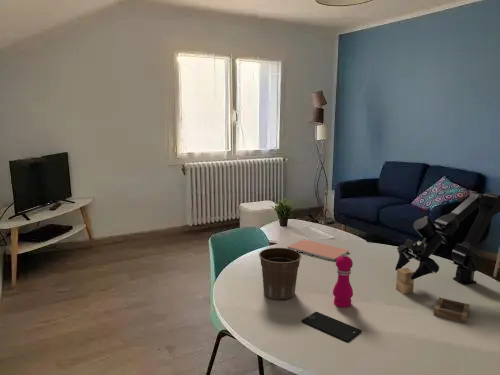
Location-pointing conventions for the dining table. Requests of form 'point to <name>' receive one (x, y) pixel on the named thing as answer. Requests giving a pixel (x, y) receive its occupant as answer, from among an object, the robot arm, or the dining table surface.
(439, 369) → the dining table surface
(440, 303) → the walnut holder
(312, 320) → the cell phone
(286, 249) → the plant pot
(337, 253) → the notebook
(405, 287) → the oak block
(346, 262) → the pepper mill
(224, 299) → the dining table surface
